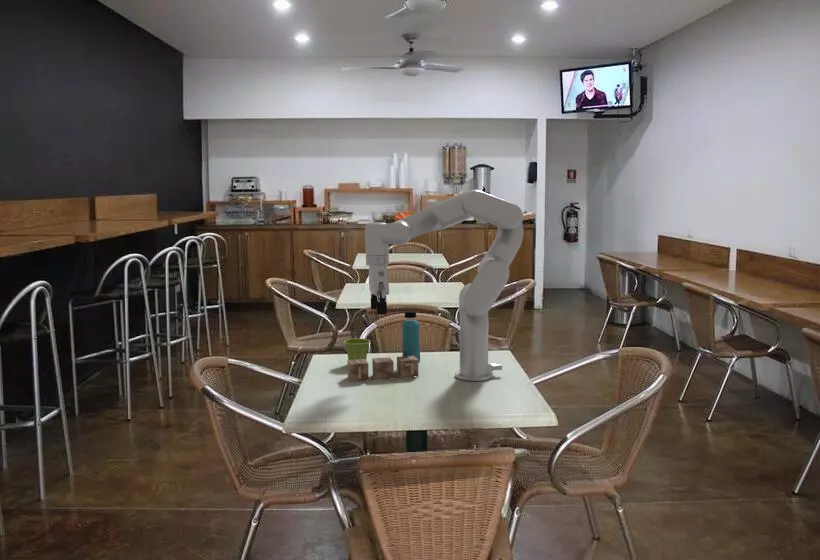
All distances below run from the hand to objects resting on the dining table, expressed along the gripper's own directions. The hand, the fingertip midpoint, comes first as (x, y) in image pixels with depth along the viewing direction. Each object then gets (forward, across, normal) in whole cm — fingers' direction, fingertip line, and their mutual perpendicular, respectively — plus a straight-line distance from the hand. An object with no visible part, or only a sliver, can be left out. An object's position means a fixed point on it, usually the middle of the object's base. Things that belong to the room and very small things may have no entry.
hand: (378, 311), depth 236 cm
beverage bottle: (+23, +12, -14) cm, 29 cm away
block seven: (+23, +1, -10) cm, 25 cm away
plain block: (+23, +1, -1) cm, 23 cm away
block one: (+23, +1, +8) cm, 24 cm away
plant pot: (+23, +20, +4) cm, 30 cm away
